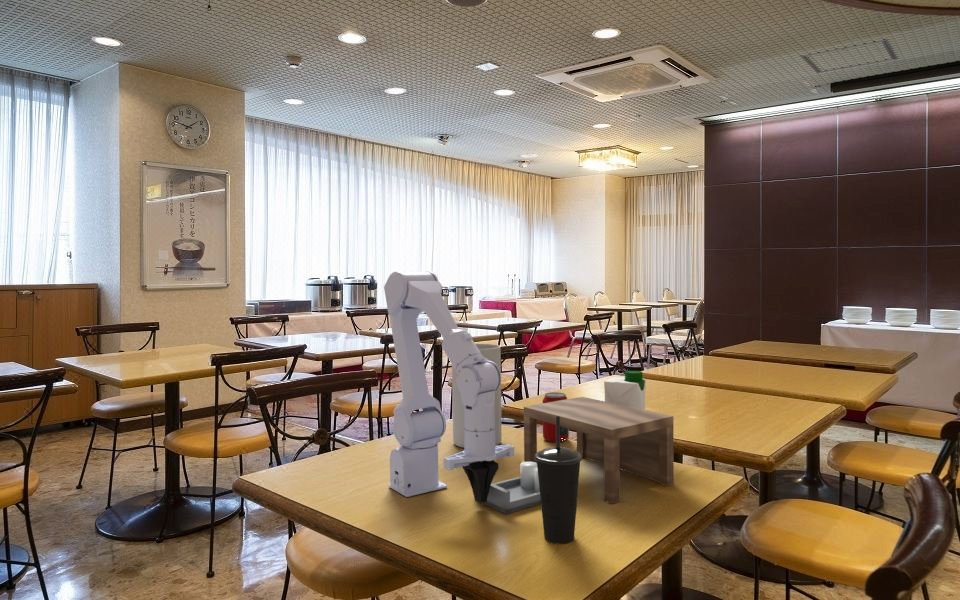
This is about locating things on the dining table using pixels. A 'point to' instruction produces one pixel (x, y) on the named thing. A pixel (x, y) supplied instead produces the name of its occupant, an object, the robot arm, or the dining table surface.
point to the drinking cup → (558, 489)
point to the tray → (516, 491)
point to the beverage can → (550, 428)
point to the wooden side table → (610, 438)
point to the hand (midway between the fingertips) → (480, 501)
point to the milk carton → (626, 390)
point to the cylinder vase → (492, 355)
